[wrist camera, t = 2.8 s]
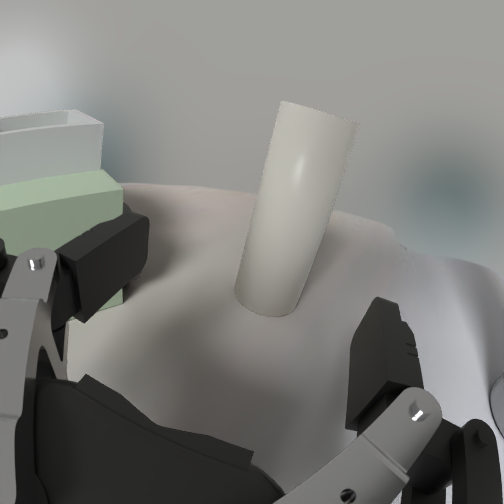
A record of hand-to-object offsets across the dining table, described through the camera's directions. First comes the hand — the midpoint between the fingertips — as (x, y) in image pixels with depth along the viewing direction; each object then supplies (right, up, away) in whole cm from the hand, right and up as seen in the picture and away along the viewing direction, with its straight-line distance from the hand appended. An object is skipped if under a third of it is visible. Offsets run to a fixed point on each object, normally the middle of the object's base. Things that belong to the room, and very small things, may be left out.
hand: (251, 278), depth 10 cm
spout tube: (+1, -2, +14) cm, 14 cm away
